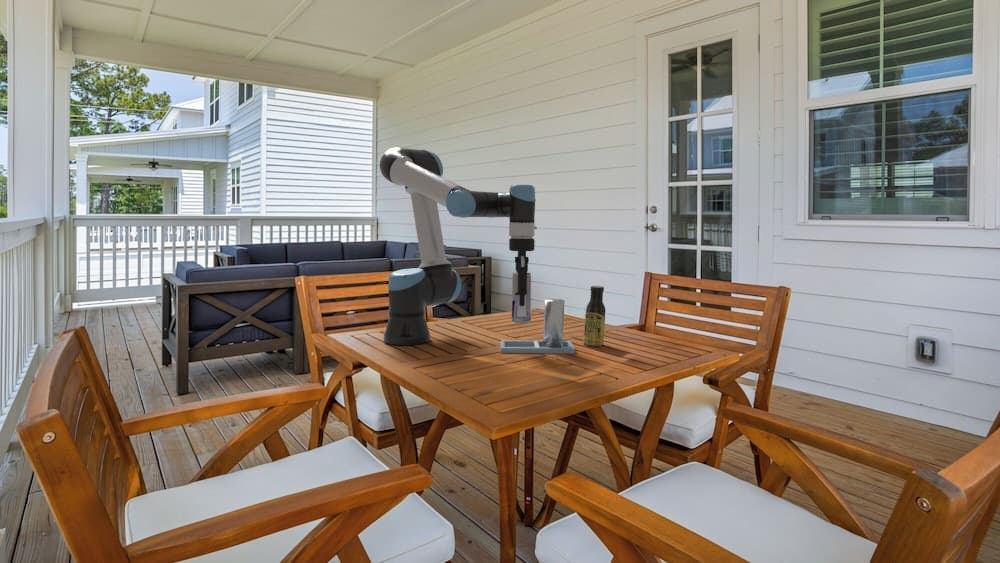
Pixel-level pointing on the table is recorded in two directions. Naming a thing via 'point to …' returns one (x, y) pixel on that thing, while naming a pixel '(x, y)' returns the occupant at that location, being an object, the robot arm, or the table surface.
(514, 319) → the beverage can
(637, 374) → the table surface
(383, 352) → the table surface
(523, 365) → the table surface
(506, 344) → the divided tray
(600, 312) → the sauce bottle
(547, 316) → the twin can
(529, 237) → the robot arm
